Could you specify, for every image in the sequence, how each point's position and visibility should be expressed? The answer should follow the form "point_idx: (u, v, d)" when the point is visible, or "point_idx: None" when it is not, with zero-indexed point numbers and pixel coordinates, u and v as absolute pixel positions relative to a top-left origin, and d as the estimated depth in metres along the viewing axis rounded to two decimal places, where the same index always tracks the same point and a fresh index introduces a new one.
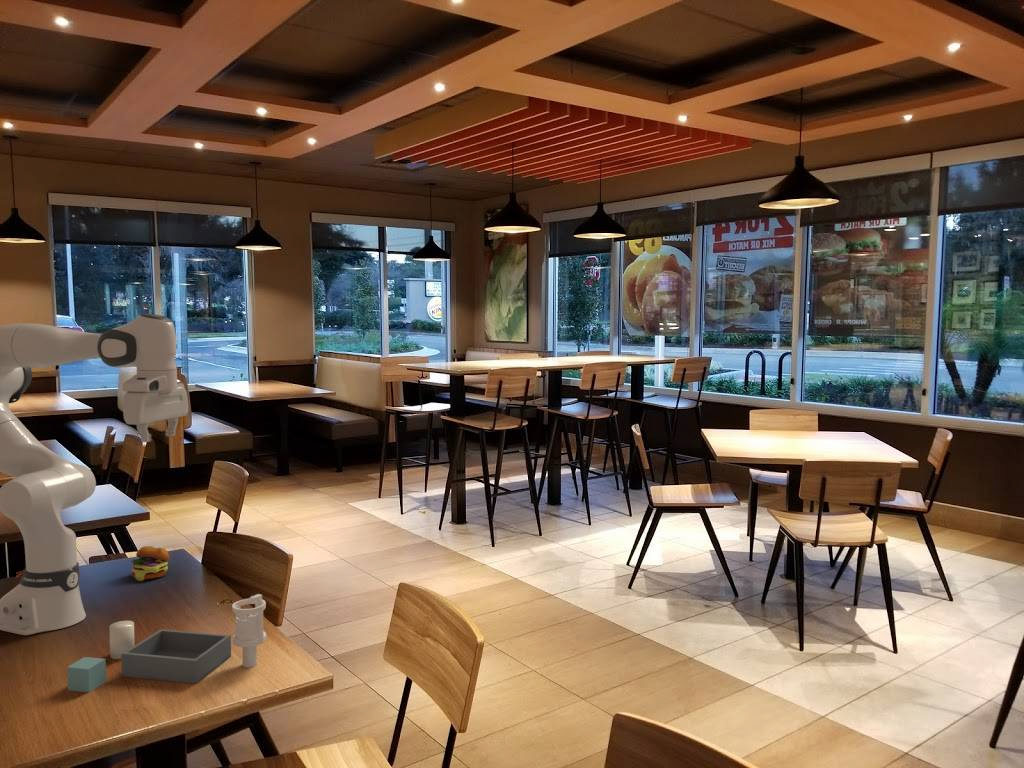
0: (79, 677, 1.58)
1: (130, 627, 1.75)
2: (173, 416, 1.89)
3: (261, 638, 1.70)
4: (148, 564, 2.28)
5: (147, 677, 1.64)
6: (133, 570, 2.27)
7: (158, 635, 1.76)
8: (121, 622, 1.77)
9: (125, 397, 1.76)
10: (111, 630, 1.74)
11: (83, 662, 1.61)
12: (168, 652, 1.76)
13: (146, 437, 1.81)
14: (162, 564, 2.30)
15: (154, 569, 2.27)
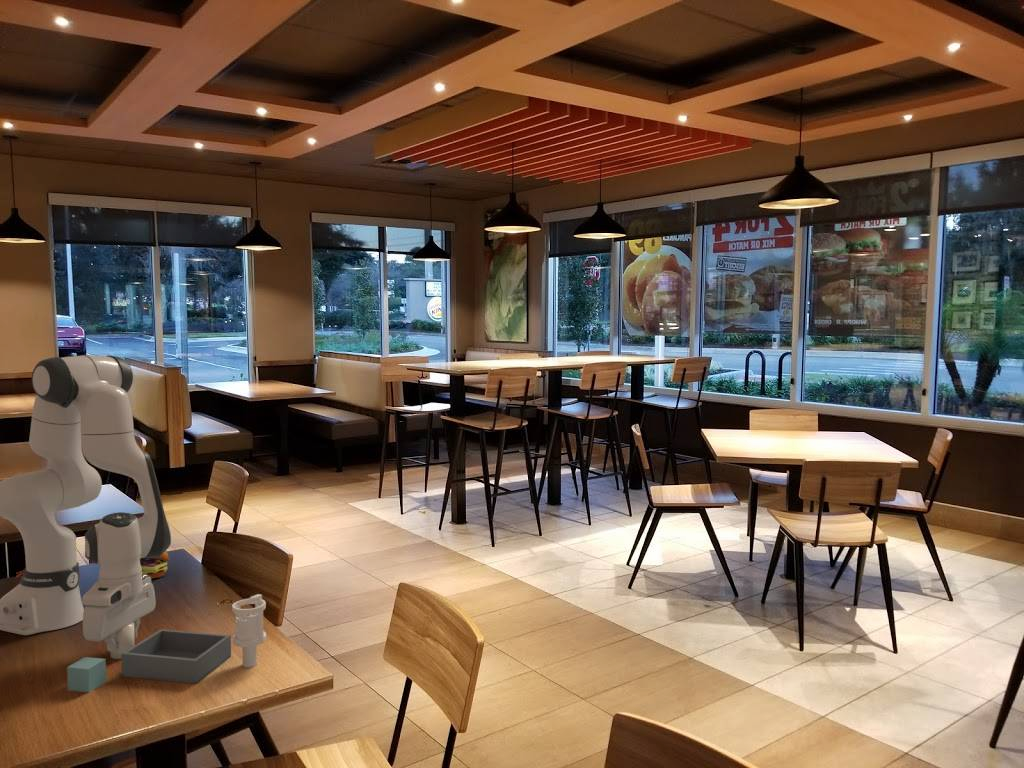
0: (79, 677, 1.58)
1: (130, 627, 1.75)
2: (138, 617, 1.79)
3: (261, 638, 1.70)
4: (147, 564, 2.27)
5: (147, 677, 1.64)
6: None
7: (158, 635, 1.76)
8: None
9: (85, 612, 1.66)
10: None
11: (83, 662, 1.61)
12: (168, 652, 1.76)
13: (113, 647, 1.72)
14: (161, 564, 2.30)
15: (153, 569, 2.26)
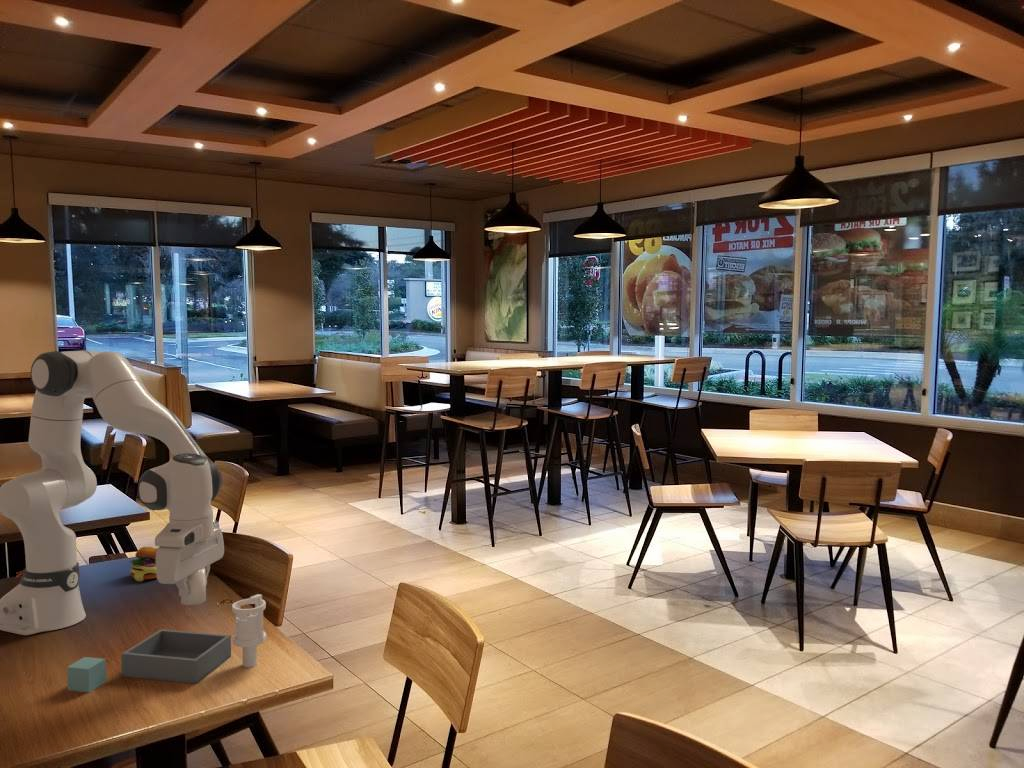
0: (79, 677, 1.58)
1: (202, 572, 1.67)
2: (209, 563, 1.71)
3: (261, 638, 1.70)
4: (147, 564, 2.27)
5: (147, 677, 1.64)
6: (132, 570, 2.26)
7: (158, 635, 1.76)
8: None
9: (158, 554, 1.59)
10: None
11: (83, 662, 1.61)
12: (168, 652, 1.76)
13: (185, 592, 1.64)
14: None
15: (153, 569, 2.26)
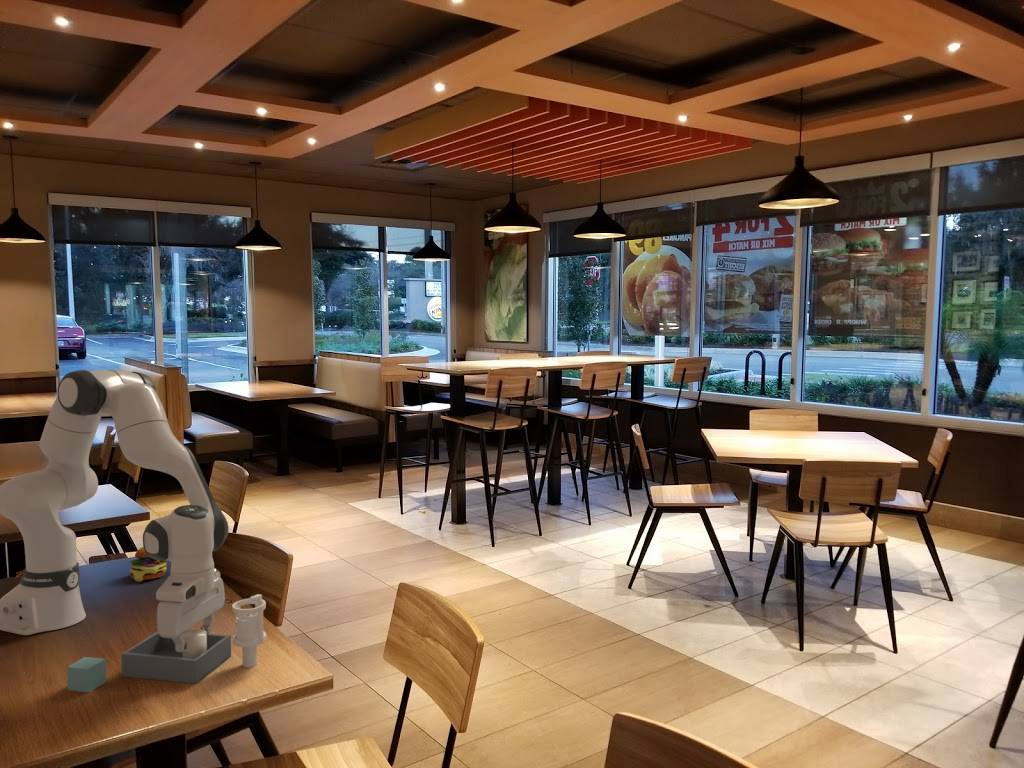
0: (79, 677, 1.58)
1: (203, 637, 1.68)
2: (209, 614, 1.72)
3: (261, 638, 1.70)
4: (147, 565, 2.27)
5: (147, 677, 1.64)
6: (132, 571, 2.26)
7: (158, 635, 1.76)
8: (193, 631, 1.71)
9: (159, 608, 1.60)
10: (184, 640, 1.67)
11: (83, 662, 1.61)
12: (168, 652, 1.76)
13: (181, 647, 1.64)
14: (161, 565, 2.29)
15: (153, 570, 2.26)
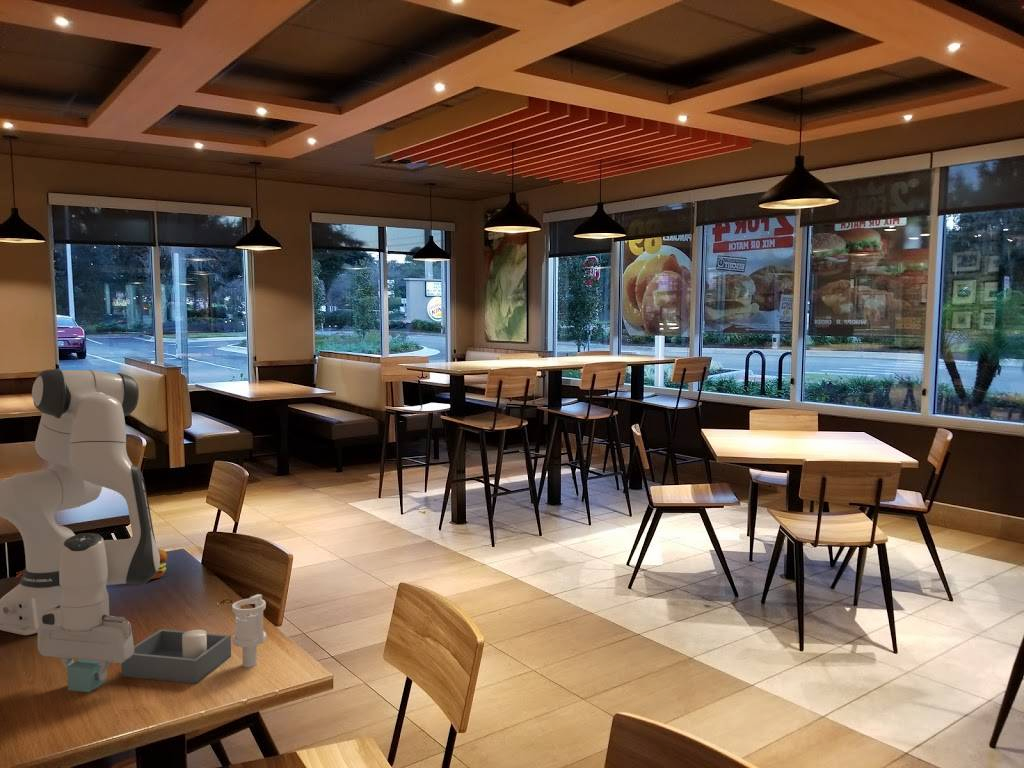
0: (79, 677, 1.58)
1: (203, 637, 1.68)
2: (95, 659, 1.58)
3: (261, 638, 1.70)
4: None
5: (147, 677, 1.64)
6: None
7: (158, 635, 1.76)
8: (193, 631, 1.71)
9: None
10: (184, 640, 1.67)
11: (83, 661, 1.61)
12: (168, 652, 1.76)
13: None
14: (160, 565, 2.29)
15: None
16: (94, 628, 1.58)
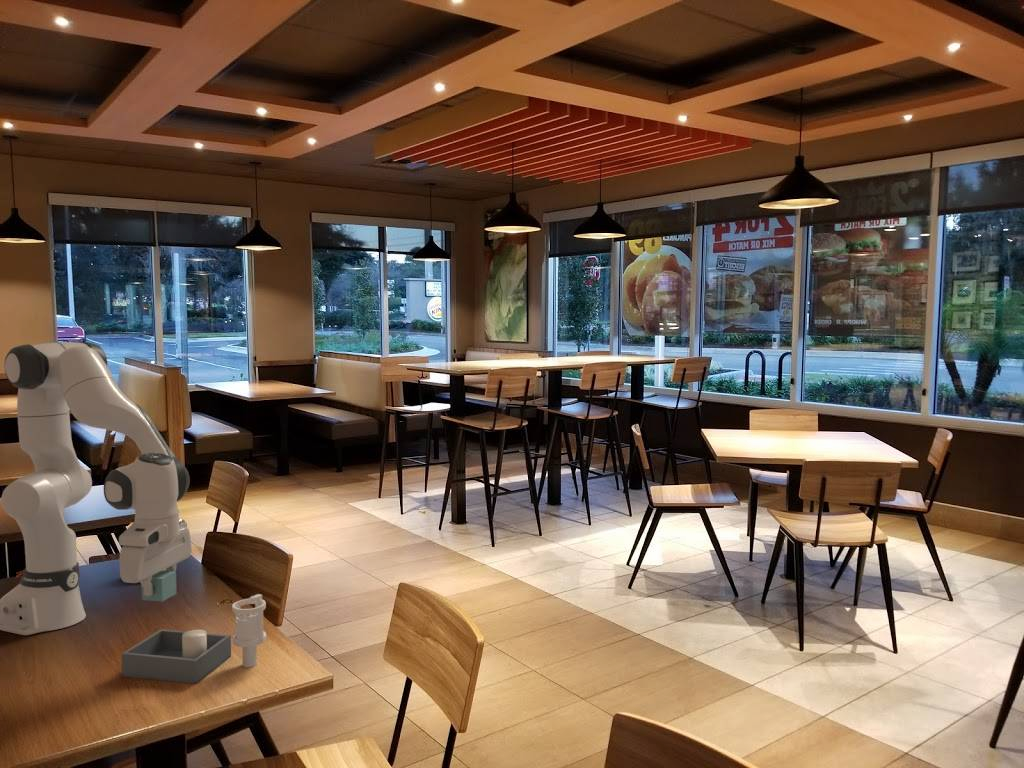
0: (170, 583, 1.69)
1: (203, 637, 1.68)
2: (175, 562, 1.72)
3: (261, 638, 1.70)
4: None
5: (147, 677, 1.64)
6: None
7: (158, 635, 1.76)
8: (193, 631, 1.71)
9: (122, 553, 1.60)
10: (184, 640, 1.67)
11: (155, 575, 1.68)
12: (168, 652, 1.76)
13: (150, 590, 1.65)
14: None
15: None
16: None
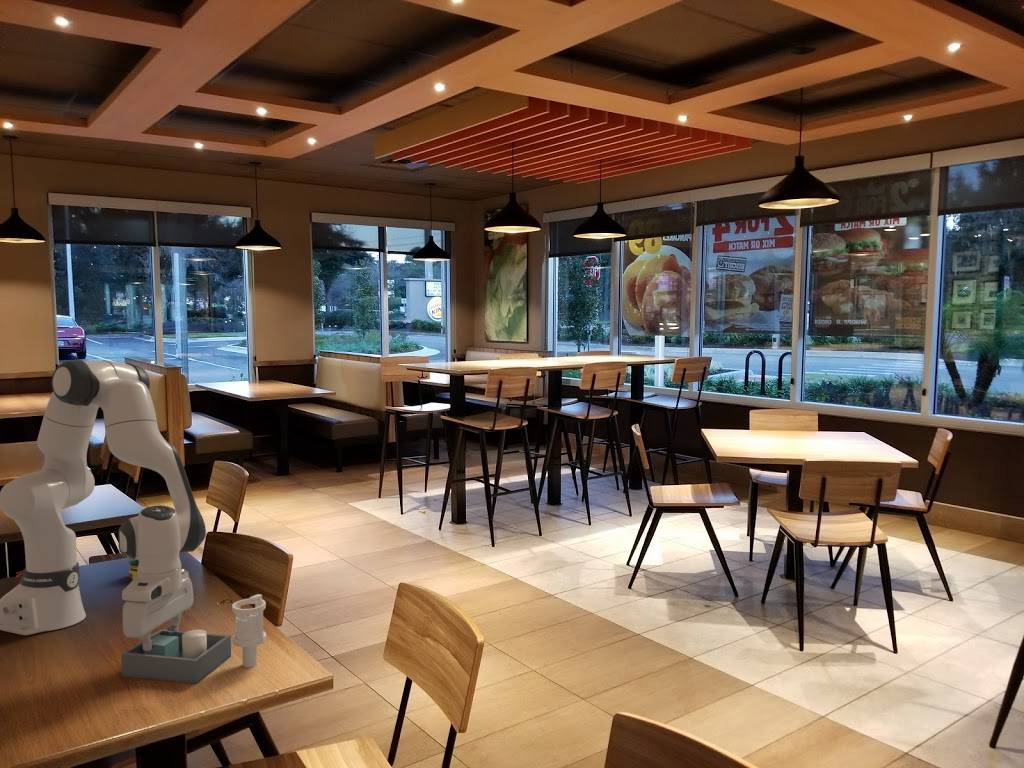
0: (172, 648, 1.71)
1: (203, 637, 1.68)
2: (177, 614, 1.73)
3: (261, 638, 1.70)
4: None
5: (147, 677, 1.64)
6: (130, 571, 2.26)
7: None
8: (193, 631, 1.71)
9: (125, 608, 1.61)
10: (184, 640, 1.67)
11: (158, 641, 1.70)
12: None
13: (149, 646, 1.66)
14: None
15: None
16: None
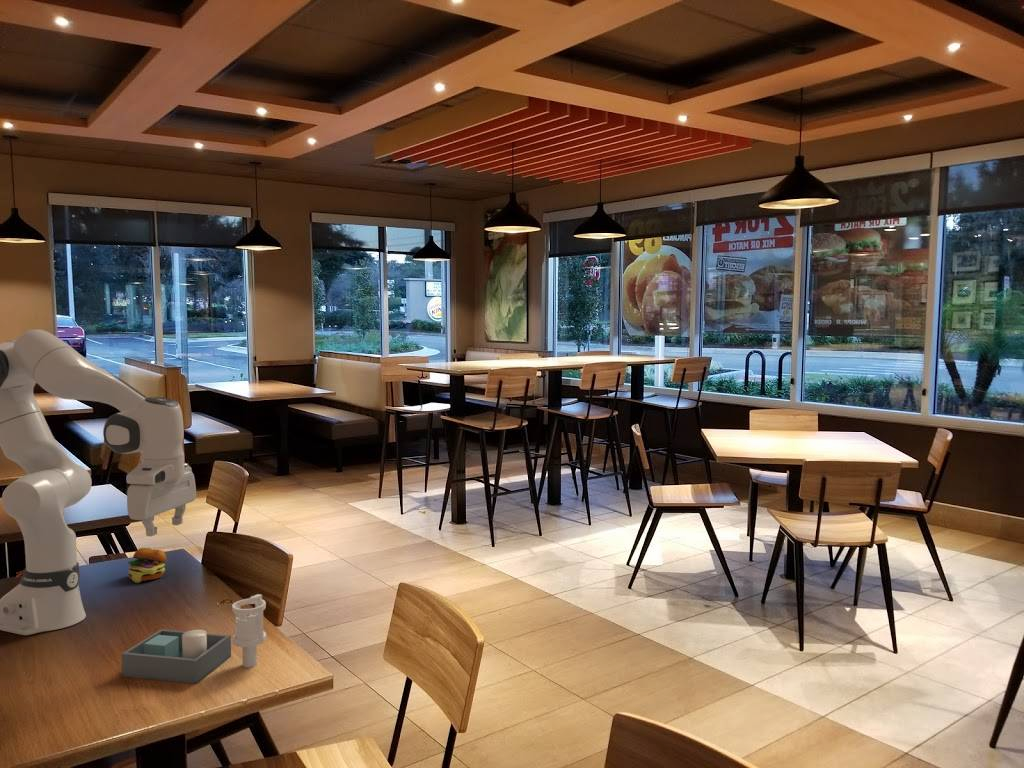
0: (172, 648, 1.71)
1: (203, 637, 1.68)
2: (180, 504, 1.77)
3: (261, 638, 1.70)
4: (145, 566, 2.26)
5: (147, 677, 1.64)
6: (130, 572, 2.25)
7: None
8: (193, 631, 1.71)
9: (129, 490, 1.65)
10: (184, 640, 1.67)
11: (158, 641, 1.70)
12: None
13: (152, 531, 1.69)
14: (159, 566, 2.28)
15: (151, 571, 2.25)
16: None
